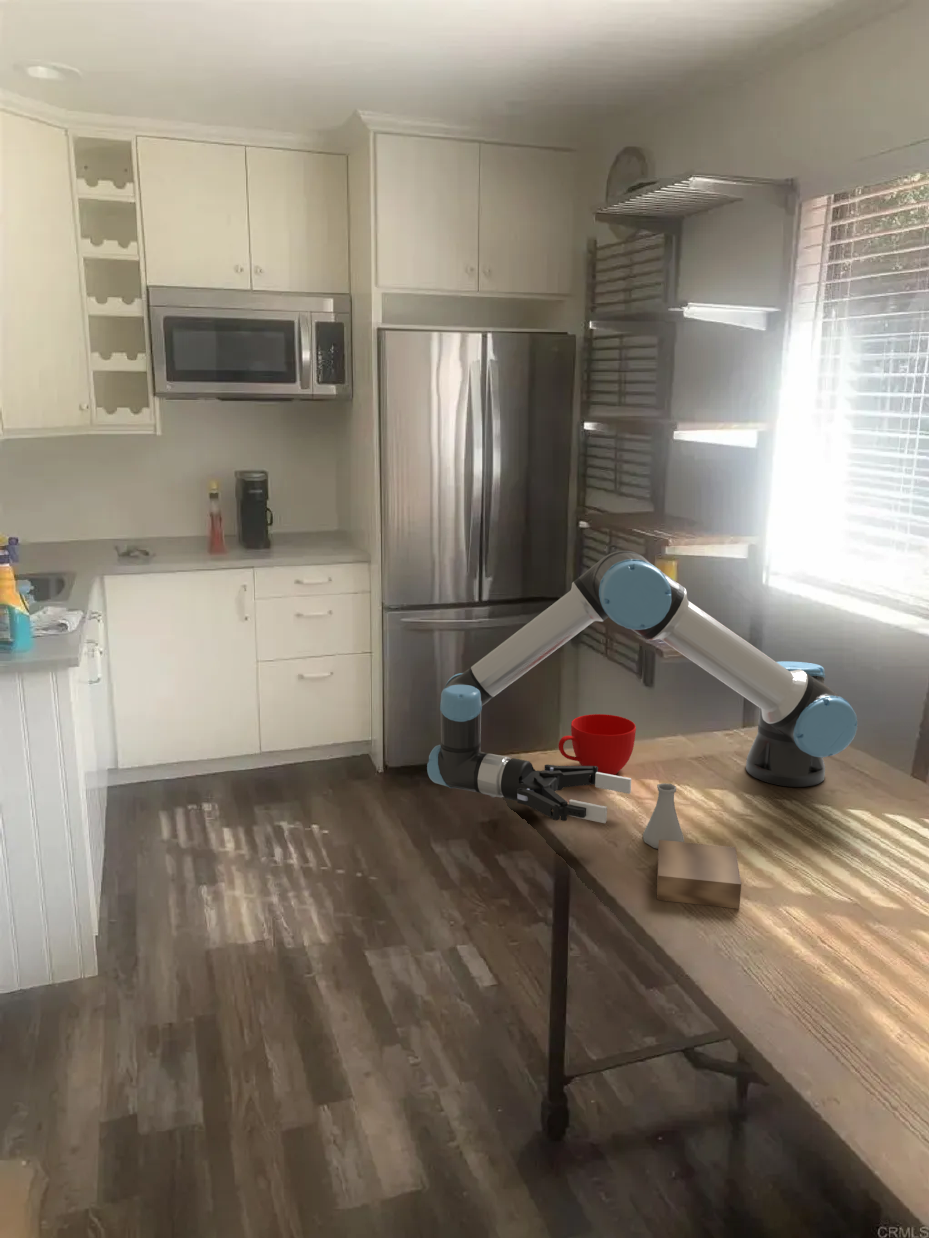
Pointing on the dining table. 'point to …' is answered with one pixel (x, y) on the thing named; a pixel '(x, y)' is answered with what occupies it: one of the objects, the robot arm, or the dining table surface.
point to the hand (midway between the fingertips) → (618, 800)
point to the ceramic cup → (601, 741)
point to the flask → (663, 818)
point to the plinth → (698, 874)
